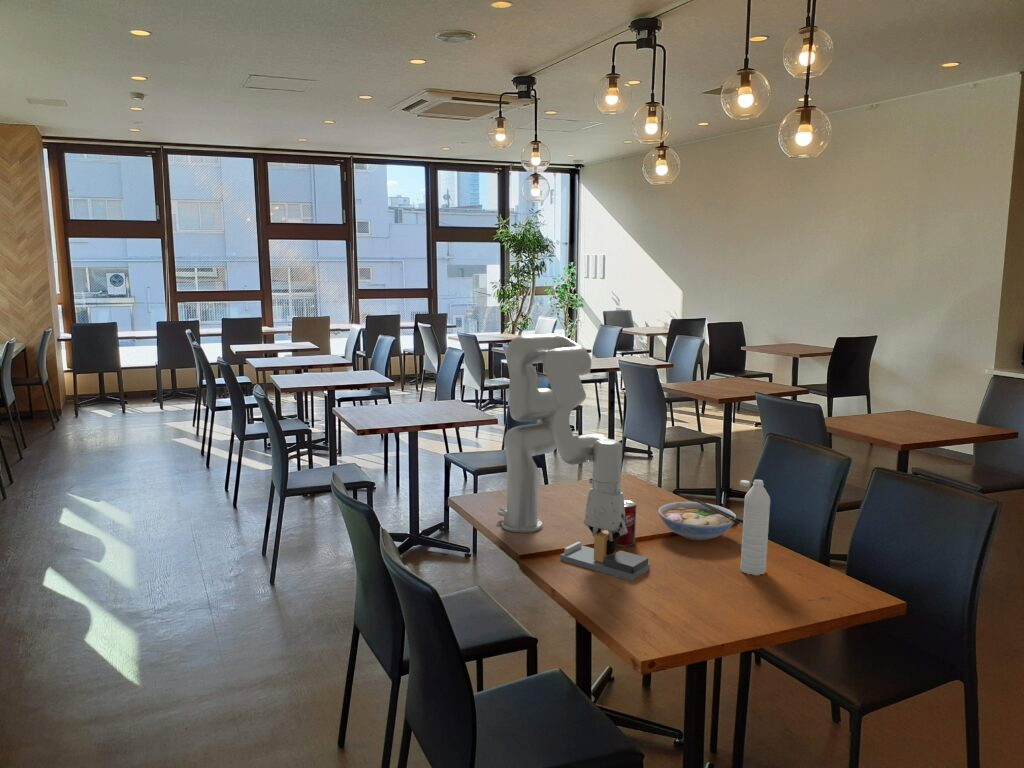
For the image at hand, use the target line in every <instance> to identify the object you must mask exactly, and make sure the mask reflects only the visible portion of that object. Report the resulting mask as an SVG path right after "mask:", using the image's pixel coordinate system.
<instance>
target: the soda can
mask: <svg viewBox="0 0 1024 768" xmlns="http://www.w3.org/2000/svg"><path fill="white" fill-rule="evenodd" d="M624 505H625V525H626V528H627V530H628V533H626V534H624V535H621V536H619V537H618V538H617V539H616V546H618V547H631V546H633V545H635V543H636V532H637V531H636V529H637V528H636V527H637V506H638V505H637V504H636V502H635V501H633V500H629V499H624ZM618 531H620V528H619V529H618Z"/></svg>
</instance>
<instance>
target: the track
mask: <svg viewBox="0 0 1024 768" xmlns="http://www.w3.org/2000/svg"><path fill="white" fill-rule="evenodd" d="M563 550H564V552H563V553H561V554H560V556H559V557H560V561H563V562H565V563H569V564H573V565H575V566H579V567H583V568H586V569H589V570H593V571H596V572H600V573H602V574H607V575H609V576H612V577H616V578H619V579H623V580H627V581H629V582H632V581H633V580H634V579H636V578H638V577H640V576H641V575H643V574H645V573H646V572H648V571H649V570H650V568H651V564H650V563H648V566H646V567H644V568H643V569H641V570H639V571H637V572H636V573H634V574H630V573H627V572H624V571H620V570H617V569H613V568H610V567H606V566H605V562H604V563H602V562H599V561H595V560H594V547H589V546H586V545H582V542H581V541H577V542H575V543H572V544H570V545H568V546H566V547H564V549H563Z"/></svg>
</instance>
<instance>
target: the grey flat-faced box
mask: <svg viewBox="0 0 1024 768" xmlns="http://www.w3.org/2000/svg"><path fill="white" fill-rule="evenodd" d="M648 564H649V557H646V556H642V555H639V554H636V553H632V552H628V551H624V550H621V549H620V550H618V551H617V552H615V554H613V555H611V556H609V557H607V558H605V566H606V567H610V568H613V569H617V570H620V571H624V572H627V573H630V574H634V573H636V572H637V571H639V570H641V569H643V568H644V567H646V566H648Z"/></svg>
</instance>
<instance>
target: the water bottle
mask: <svg viewBox="0 0 1024 768" xmlns="http://www.w3.org/2000/svg"><path fill="white" fill-rule="evenodd" d="M752 484H753V485H752V487H750V489H749V490H748V491H747V493H746V494H745V496H744V500H743V501H744V506H743V519H742V520H744V521H743V523H742V535H741V536H742V537H741V538H742V540H741V549H740V550H741V555H740V559H741V560H740V567H739V568H740V571H741V572H742V573H743V574H746V573H747V575H749V574H752V575H751V576H761V575H760V574H763V575H765V574H764V573H766V572H767V555H768V541H769V536H768V535H769V525H770V524H769V523H770V511H771V509H770V508H771V497H770V495H769V492H767V490H766V488H765V487H764V485H765V483H764V480H763V479H754V480H753V482H752ZM739 485H740V486H742V487H749V486H750V485H751V482H750V481H749V480H746V479H741V480H739Z"/></svg>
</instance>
